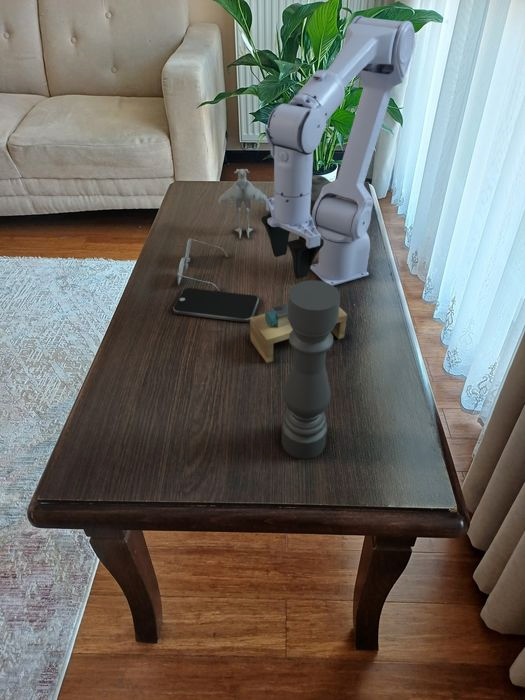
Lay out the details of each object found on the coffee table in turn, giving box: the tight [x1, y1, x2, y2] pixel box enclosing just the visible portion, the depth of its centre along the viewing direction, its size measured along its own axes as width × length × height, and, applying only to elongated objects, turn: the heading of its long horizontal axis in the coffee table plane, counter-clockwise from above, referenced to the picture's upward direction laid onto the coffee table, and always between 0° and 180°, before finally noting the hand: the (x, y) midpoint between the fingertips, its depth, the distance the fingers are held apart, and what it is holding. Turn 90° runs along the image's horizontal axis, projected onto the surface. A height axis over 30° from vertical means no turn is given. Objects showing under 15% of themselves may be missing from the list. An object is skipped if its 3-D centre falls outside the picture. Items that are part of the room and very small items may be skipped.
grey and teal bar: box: [264, 303, 290, 327], centre depth 86 cm, size 11×2×2 cm, turn 116°
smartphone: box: [172, 287, 260, 323], centre depth 97 cm, size 8×1×15 cm
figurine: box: [217, 168, 268, 239], centre depth 113 cm, size 11×4×15 cm, turn 93°
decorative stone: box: [310, 174, 337, 217], centre depth 121 cm, size 10×10×10 cm
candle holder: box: [281, 279, 341, 460], centre depth 65 cm, size 6×6×25 cm
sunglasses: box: [177, 237, 229, 292], centre depth 105 cm, size 14×8×5 cm, turn 176°
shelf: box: [249, 306, 348, 364], centre depth 89 cm, size 15×6×5 cm, turn 116°
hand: (290, 265), depth 89 cm, fingers open, 7 cm apart
